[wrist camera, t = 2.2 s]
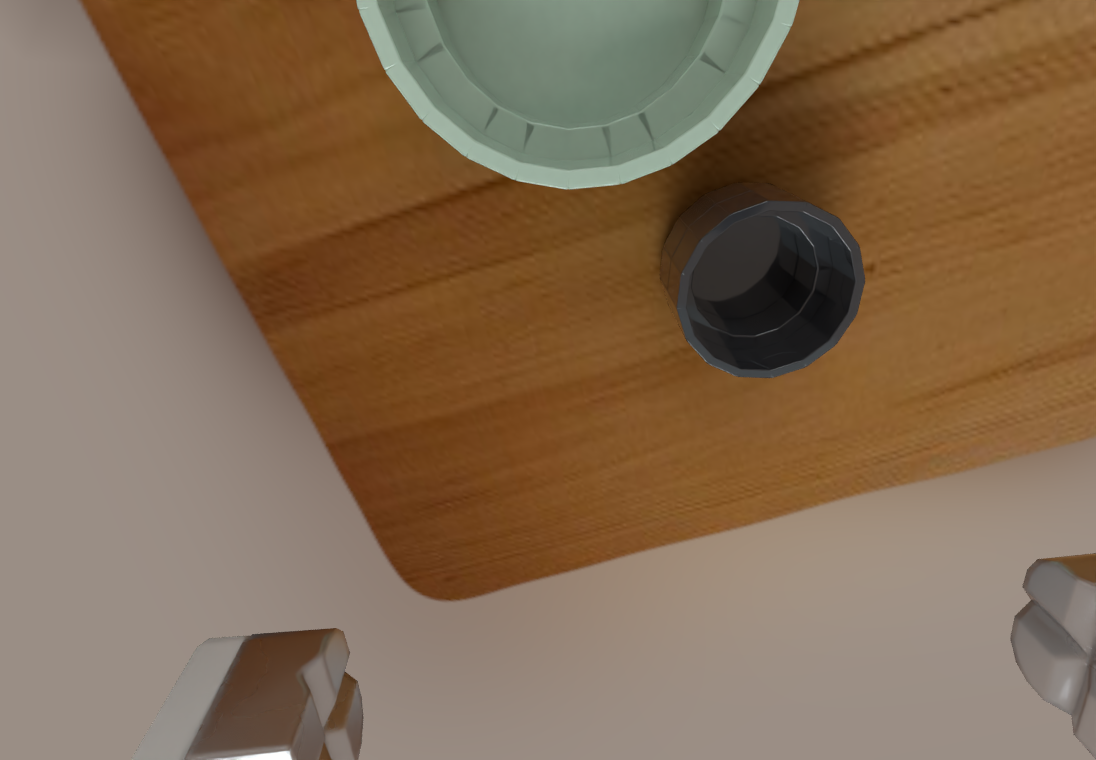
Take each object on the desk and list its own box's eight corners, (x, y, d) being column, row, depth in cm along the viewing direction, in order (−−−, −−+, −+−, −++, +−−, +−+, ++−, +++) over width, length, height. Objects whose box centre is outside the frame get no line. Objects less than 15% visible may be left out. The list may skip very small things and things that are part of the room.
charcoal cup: (798, 155, 25) (847, 171, 21) (828, 304, 28) (876, 345, 24) (639, 214, 26) (655, 241, 22) (682, 353, 29) (704, 400, 25)
